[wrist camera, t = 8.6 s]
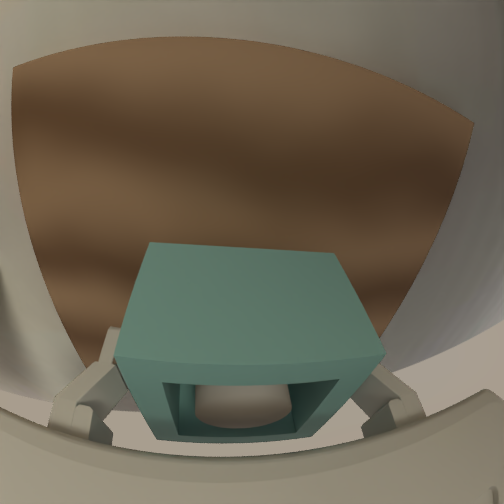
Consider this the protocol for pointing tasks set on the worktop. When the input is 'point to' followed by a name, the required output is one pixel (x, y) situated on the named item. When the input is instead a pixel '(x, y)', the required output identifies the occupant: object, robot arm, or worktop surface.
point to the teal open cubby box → (243, 337)
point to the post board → (225, 175)
